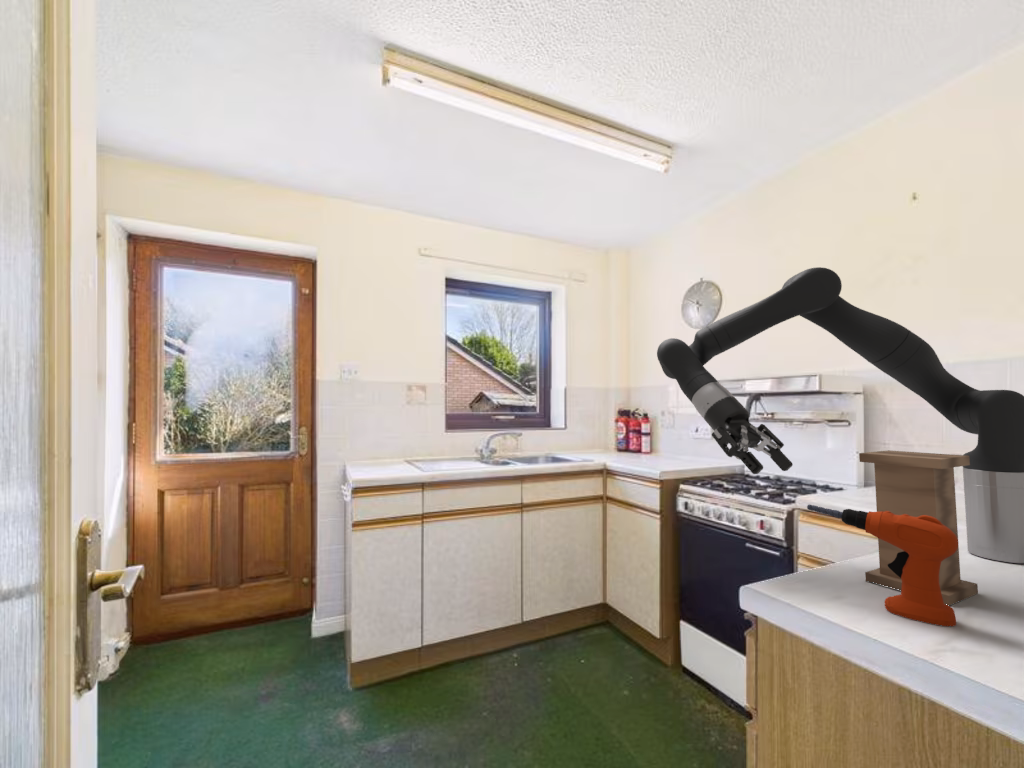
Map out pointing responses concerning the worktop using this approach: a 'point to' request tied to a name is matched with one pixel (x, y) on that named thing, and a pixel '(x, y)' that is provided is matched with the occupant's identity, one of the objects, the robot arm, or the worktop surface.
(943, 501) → the walnut stand
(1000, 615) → the worktop surface
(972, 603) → the worktop surface
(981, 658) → the worktop surface
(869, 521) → the toy drill
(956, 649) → the worktop surface
